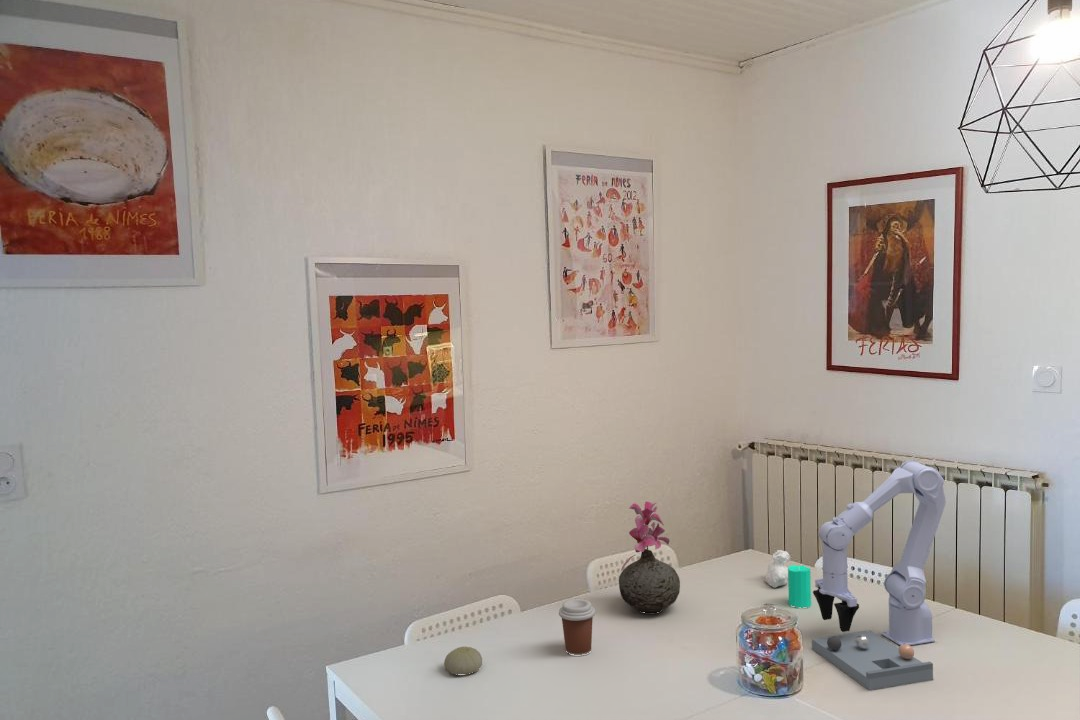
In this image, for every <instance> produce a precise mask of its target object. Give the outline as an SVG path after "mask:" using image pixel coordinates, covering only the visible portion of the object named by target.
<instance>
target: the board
mask: <svg viewBox="0 0 1080 720" xmlns="http://www.w3.org/2000/svg"><path fill="white" fill-rule="evenodd" d="M859 635H865V636H866V637H868V639H869V640H870V646H869V647H868V648H867V649H860V648H859V647H857V645H856V643H855V639H856V637H857V636H859ZM831 636H832V635H829V636H822V637H817V638H816V637H815V638H812V639H811V649H812V650H813V651H815V652H816V653H817V654H818V655H820V656H821V657H823V658H824V659H826V660H827V661H828V662H830V663H831V664H832V665H833V666H835V667H836V668H838V669H839V670H841V671H842V672H843V673H845V674H846V675H847V676H849V677H850V678H852V679H853V680H855V681H856V682H857V683H859V684H860V685H861V686H863V687H864V688H865V689H866V690H868V691H874V690H880V689H887V688H892V686H893V687H898V685H899V686H904V685H903V684H905V685H909V683H911V684H917V683H922V681H923V682H928V681H927V680H929V681H933V680H934V664H933V662H931V661H925V662H924V661H921V660H919V659H918V658H917V657H915V656H913V657H912V658H911V659H904V658H902V657H901V656H900V654H899V648H900V647H898V646H896V645H894V644H893V643H891V642H890V641H889V640H886V639H885V638H883V637H881V636H880V635H878V634H877V633H875V632H873V631H871V630H863V631H856V632H850V633H843V634H836V635H834V636H836V637H838V638H839V639H840V640H841V644H842V645H841V648H840V649H839V650H831V649H830V648H829V647H828V645H827V640H828V638H829V637H831ZM916 682H917V683H916ZM886 687H887V688H886Z"/></svg>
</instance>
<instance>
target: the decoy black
mask: <svg viewBox="0 0 1080 720" xmlns="http://www.w3.org/2000/svg"><path fill="white" fill-rule="evenodd" d="M830 636H831V637H829V638H828V640H827V645H828V647H829V648H830V649H831V650H839V649H840V648H841V645H842V644H841V640H840V639H839V638H838V637H836V636H835V635H830Z"/></svg>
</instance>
